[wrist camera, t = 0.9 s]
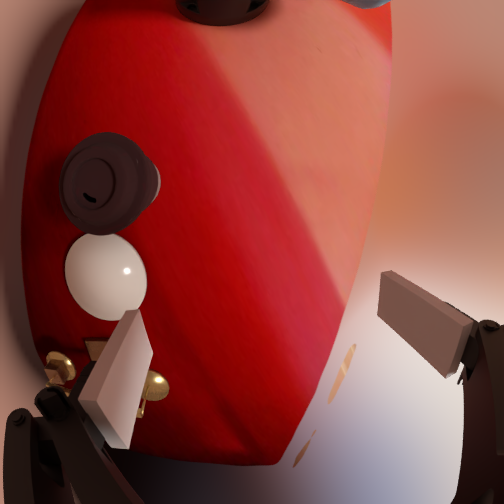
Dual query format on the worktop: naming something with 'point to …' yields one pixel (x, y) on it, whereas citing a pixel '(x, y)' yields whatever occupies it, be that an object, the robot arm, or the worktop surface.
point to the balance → (64, 368)
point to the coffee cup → (107, 183)
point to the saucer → (105, 275)
